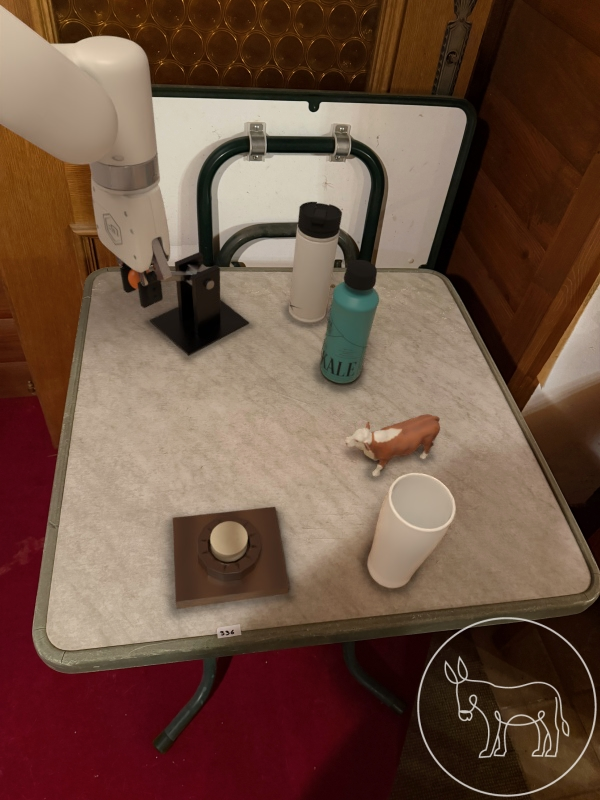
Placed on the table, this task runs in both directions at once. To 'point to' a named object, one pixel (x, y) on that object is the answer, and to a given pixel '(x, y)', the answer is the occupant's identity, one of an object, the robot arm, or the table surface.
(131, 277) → the lever
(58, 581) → the table surface
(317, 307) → the travel mug
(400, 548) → the drinking glass
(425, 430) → the bull figurine
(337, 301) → the beverage bottle
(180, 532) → the control block
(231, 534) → the stop button
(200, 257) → the switch bracket
